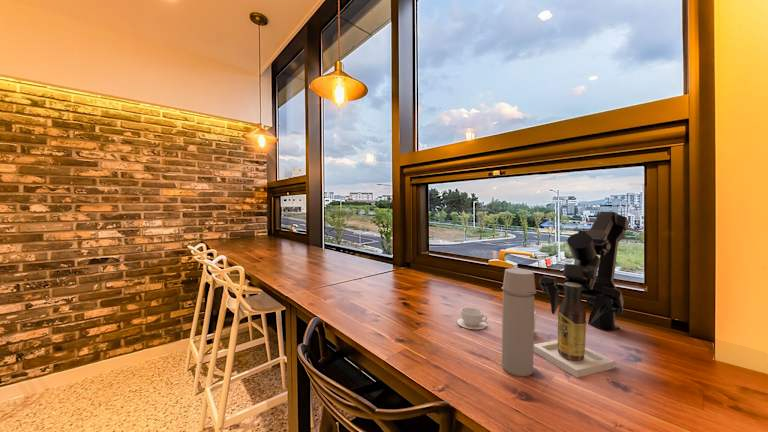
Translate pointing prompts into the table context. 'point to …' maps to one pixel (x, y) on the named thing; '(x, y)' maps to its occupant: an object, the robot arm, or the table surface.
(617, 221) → the robot arm
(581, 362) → the holder tray
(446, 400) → the table surface
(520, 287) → the water bottle
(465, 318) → the teacup
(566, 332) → the sauce bottle
